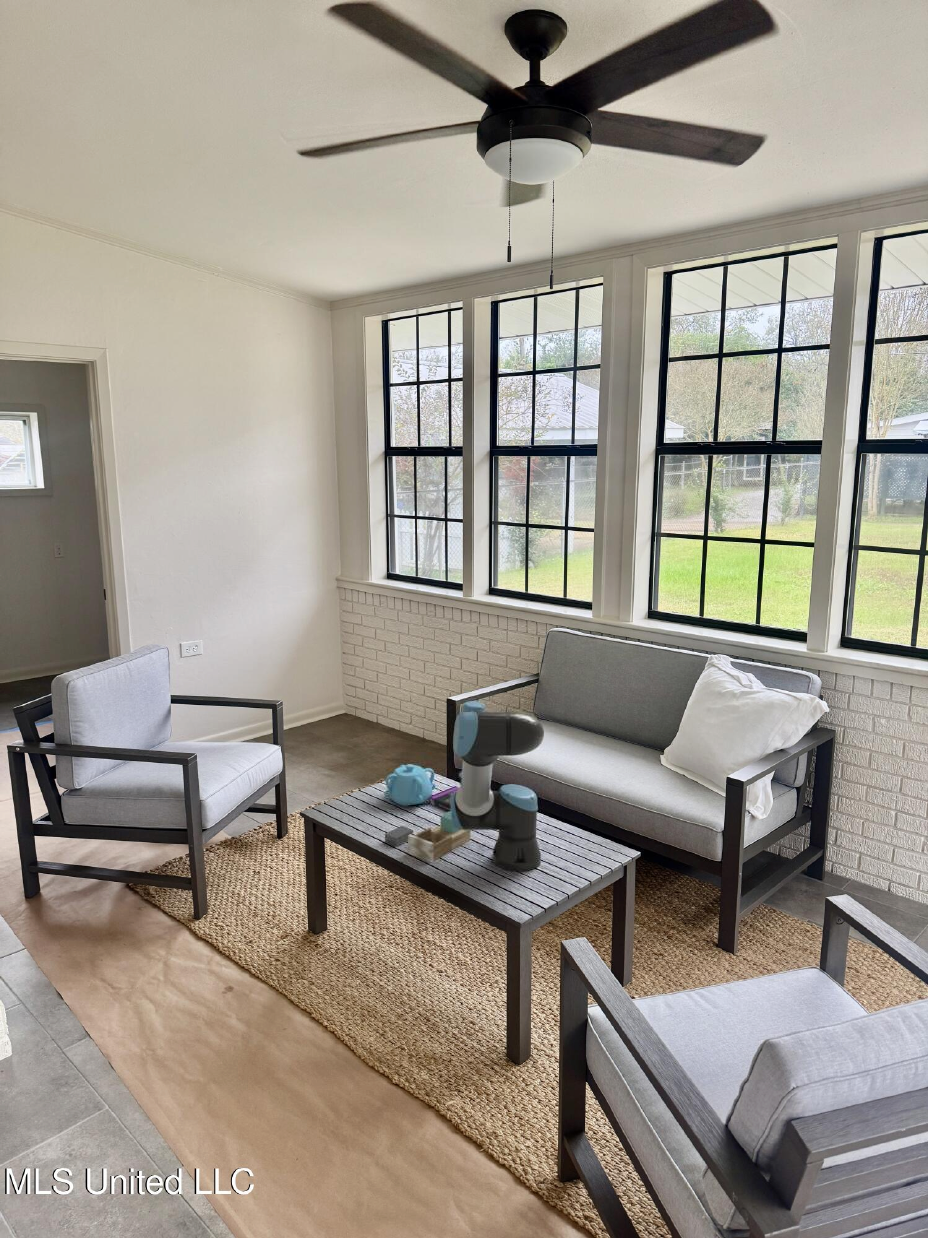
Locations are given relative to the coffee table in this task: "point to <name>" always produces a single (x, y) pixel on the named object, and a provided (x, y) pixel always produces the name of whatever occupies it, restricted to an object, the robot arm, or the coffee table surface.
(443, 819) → the block
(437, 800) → the box
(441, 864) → the coffee table surface
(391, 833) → the dark grey block
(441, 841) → the drawer
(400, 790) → the decorative pot
